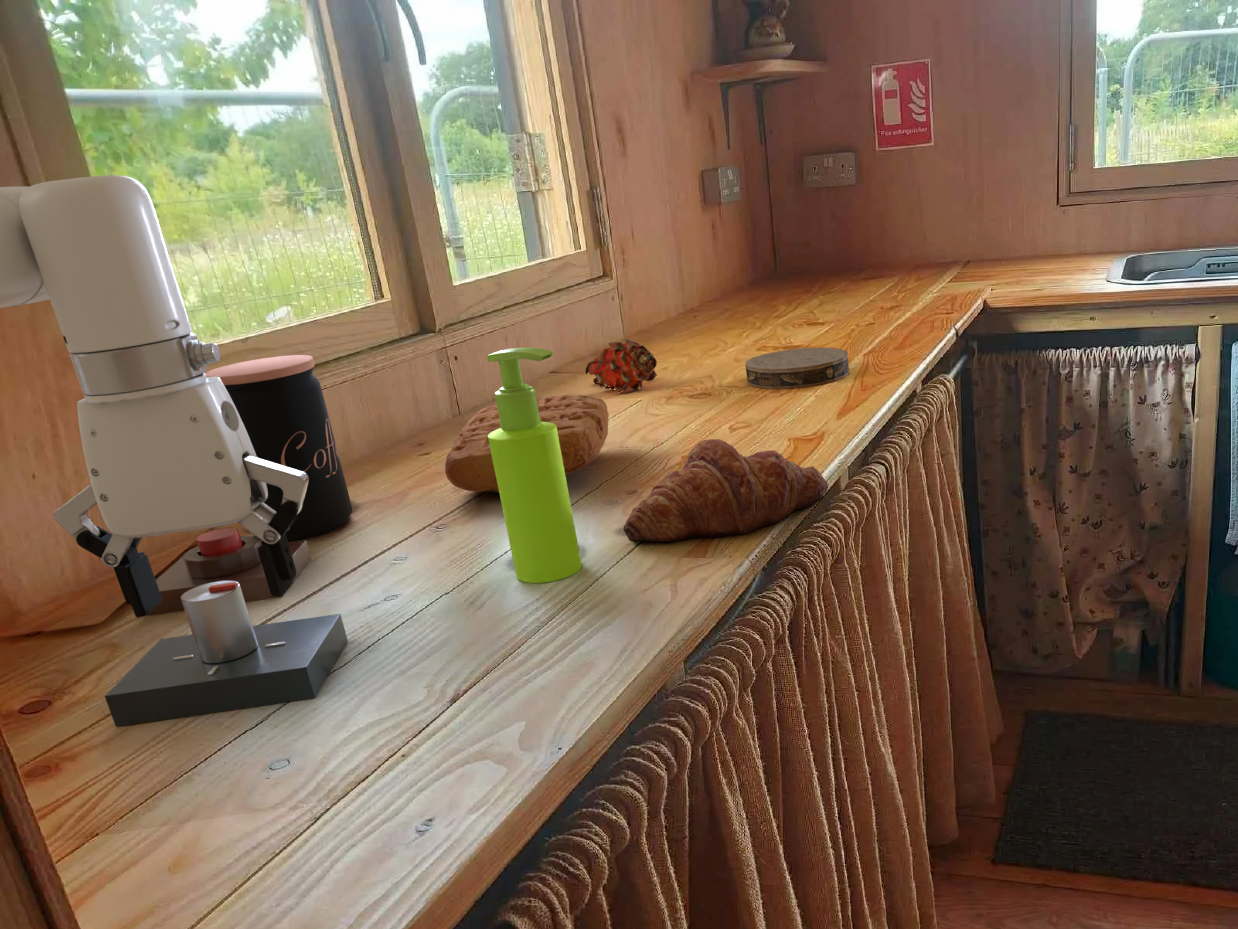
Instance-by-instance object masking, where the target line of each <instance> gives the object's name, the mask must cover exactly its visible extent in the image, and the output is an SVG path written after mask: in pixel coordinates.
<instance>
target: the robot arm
mask: <svg viewBox="0 0 1238 929" xmlns="http://www.w3.org/2000/svg"><path fill="white" fill-rule="evenodd" d="M161 229H162V228H161V226H160V223H159V219H158V215H157V212H156V210H155V207H154V204H153V201H152V198H151V196H150V194H149V192H148V190H147V189H146V187H145V186H144V185H143V184H142V183H141V182H140V181H139V180H137V179H135V178H133V177H130V176H127V175H119V174H118V175H117V174H107V175H95V176H84V177H73V178H65V179H57V180H49V181H43V182H39V183H36V184H32V185H30V186H21V185H20V186H17V185H16V186H0V309H4V308H9V307H11V308H12V307H19V306H24V305H28V304H35V303H39V302H45V301H50V304H51V307H52V310H53V312H54V315H55V318H56V321H57V323H58V327H59V329H60V332H61V334H62V338H63V340H64V344H65V347H66V349H67V352H68V353H69V358H70V360H71V364H72V366H73V370H74V373H75V374H76V377H77V380H78V383H79V386H80V389H81V391H82V394H83V397H84V398H82V399H79V400H78V401H77V402H76V407H77V419H78V428H79V436H80V441H81V446H82V452H83V456H84V462H85V466H86V470H87V473H88V477H89V482H90V484H89V485H87V486H86V487H85V488H84V489H82V490H81V491H80V492H79V493H77V494H76V495H74V496H73V497H72V498H71V499H69V500H68V501H66V502H65V503H64V504H63V505H61V506H60V507H59V508H57V509H56V510H54V512H53V514H52V516H53V520H55V521H56V522H57V524H59V526H61V527H62V528H63V529H64V530H65V531H66V533H68V534H69V535H70V536H71V537H73V538H74V539H75V541H76V544H77V545H78V546H79V547H80V548H81V549H84V550H85V551H87V552H89V553H91V554H93V555H95V556H96V557H98V558H100V559H101V561H102V564H103V565H104V566H106V567H108V568H113V571H114V573H115V575H116V578H117V581H118V584H119V587H120V589H121V593H122V596H123V599H124V600H125V602H126V604H128V605H130V606H131V608H132V611H133V614H134V616H135V617H136V618H144V617H147V614H149V613H150V612H151V611H152V610H153V609H154V608H155V607H156V606H157V605H158V604H159V603H161V601H162V597H161V594H160V591H159V588H158V585H157V582H156V579H157V578H156V577H155V574H154V572H153V569H152V568H153V567H152V565H151V563H150V559H149V557H148V555H147V554H145V552H144V551H140V552H139V551H138V546H139V545H140V543H141V541H142V540H143V538H149V537H156V536H163V535H171V534H177V533H184V532H191V531H197V530H203V529H210V528H217V527H223V526H229V525H234V524H238V525H239V526H241V527H243V528H244V529H245V530H247V531H248V532H250V533H251V534H252V535H254V537H256V538H257V539H259V538H260V539H261V540H260V542H261V545H260V546H259V547H258V554H259V557H260V560H261V564H262V567H263V570H264V573H265V577H266V580H267V583H268V586H269V590H270V593H271V595H272V596H273V595H274V596H275V597H278V596H283V595H284V596H285V594H286V593H287V592H288V591H289V590H290V588H291V587H292V586H293V584H294V583H293V579H294V578H295V577H296V568H295V564H294V561H293V557H292V554H291V551H290V547H289V544H288V543H289V542H288V541H287V537H286V534H285V533H286V532H287V531H288V530H289V528H290V526H291V525H292V523H293V522H294V520H295V519H296V517H297V516H298V514H299V513H300V511H301V510H302V508H303V500H304V498H305V494H306V490H307V486H308V482H309V477H308V475H307V474H306V473H304V472H302V471H299V470H295V469H292V468H289V467H285V466H282V465H279V464H276V463H272V462H269V461H266V460H262V459H259V458H257V456H256V453H255V451H254V448H253V446H252V443H251V441H250V438H249V436H248V433H247V431H246V429H245V427H244V424H243V422H242V420H241V418H240V416H239V413H238V411H237V409H236V407H235V405H234V403H233V401H232V399H231V397H230V395H229V393H228V391H227V390H226V388H225V386H224V384H223V383H222V381H221V379H220V378H219V377H209V378H206V375H205V373H207V372H208V368H207V367H209V366H210V365H211V364H215V363H220V362H221V358H222V355H221V350H220V348H219V345H218V344H217V343H215V342H210V343H205V342H204V341H201V342H200V340H199V338H198V335H197V333H193V329H192V327H191V324H190V320H189V317H188V313H187V310H186V307H185V304H184V303H185V302H184V300H183V297H182V293H181V291H180V290H181V289H180V287H179V284H178V281H177V277H176V274H175V270H174V268H173V265H172V264H173V263H172V261H171V259H170V258H171V257H170V255H169V251H168V248H167V245H166V242H165V239H164V236H163V232H162V230H161ZM266 483H268V484H271V485H274V486H278V487H280V488H281V489H282V491H283V500H282V504H281V506H280V508H279V509H278V511H277V512H276V511H274V510H273V509H272V508H270V507H269V506H268V505H266V504H265V503H264V502H265V501H266V499H267V497H268V490H267V486H266ZM96 505H97V508H98V510H99V513H100V515H101V518H102V520H103V522H104V524H105V526H106V527H107V530H108V531H107V530H106V529H104V528H102V527H100V526H98V525H95V524H94V523H93V521H92V520H91V519H90V517H89V515H88V513H89V511H90V510H91V509H92V508H93V507H94V506H96ZM291 585H292V586H291ZM290 586H291V587H290ZM287 590H288V591H287ZM286 591H287V592H286ZM284 596H283V597H284Z"/></svg>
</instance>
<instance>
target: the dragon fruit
mask: <svg viewBox="0 0 1238 929" xmlns="http://www.w3.org/2000/svg"><path fill="white" fill-rule="evenodd" d="M624 341H625V343H622V342H621V341H615V342H614V341H613V342H612V341H611V342H608V346H610V347H608V348H604V349H603V350H602V352H601V353H600V354H599V356H597V357H595V358H594V359H592V360H591V361H589V362H588V363H587V365H586V367H585V371H583V373H585V375H588V374H589V375H591V376H593V375H594V376H595V377H594V378H593V379H592V382H593V384H594V385H595V386H598V387H599V388H604V389H605V390H613V389H614V388H615V389H616V391H615V392H616V393H618V392H621V391H623V390H624V391H625V390H626V389H627V388H630V389H631V390H632V391H636V390H635V389H639V388H642V389H643V382H652V381H653V380H655V379H656V377H657V376H658V374H657V372H656V371H655V368H656V367H657V363H658V361H657V359H656V358H655V357H654V354H653V353H652V352H651V351H650V350H649V349H648V348H646V346H644V345H641V344H639V343H638V342H636V341H634V340H632V339H629V338H627V339H625V338H624ZM609 388H611V389H609ZM624 391H623V392H624ZM621 393H622V392H621Z"/></svg>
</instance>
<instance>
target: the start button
mask: <svg viewBox="0 0 1238 929" xmlns="http://www.w3.org/2000/svg"><path fill="white" fill-rule="evenodd" d="M240 536H241V535H240V530H239V529H238V528H235V527H224V528H218V529H213V530H210V531H208V532H204V533H202V534H200V535H199V536H197V537H196V542H197V546H199V549H200V552H201V555H202V556H214V555H221V554H224V553H228V552H232V551H234V550H237V549H239V548H241V547H243V544H242V541H241V538H240Z"/></svg>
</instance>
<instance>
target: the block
mask: <svg viewBox="0 0 1238 929" xmlns="http://www.w3.org/2000/svg"><path fill="white" fill-rule="evenodd" d="M240 538H241V541H242V544H243V547H241V548H239V549H237V550H234V551H232V552H228V553H224V554H221V555H214V556H202V555H201V552H200V549H199V546H198V545H197V546H195V547H193V548H190V549H188V551H187V552H185V553H184V554H183V555H182V556H181V557H180V558H179V559H178V560H177V561H176V562H174V563H173V564H172V565H171V566H170V567H169V568H167V570H166V571H164V572H163V573H161V575H160V576H158V578H155V579H156V582H157V585H158V588H159V591H160V594H161V597H162V601H161V603H159V604H158V605H157V606H156V607H155V608H154V609H153V610H152V611H151V612H150V613H149V614H147V615H146V617H148V616H156V615H163V614H170V613H177V612H178V613H179V612H185V610H184V607H183V604H182V601H181V596H182V595H183V594H184V593H185V592H187V591H189V590H191V589H193V588H195V587H198V586H201V585H204V584H208V583H212V582H217V581H236V582H238V583H239V584H240V587H241V591H242V594H243V597H244V600H245V603H250V602H258V601H265V600H272V599H278V598H283V597H284V596H285V594H284V595H283V596H278V597H275V596H274V595H273V596H272V595H271V593H270V590H269V586H268V583H267V580H266V577H265V573H264V570H263V567H262V564H261V560H260V557H259V554H258V547H259V546H260V545H261V544H262V542H261V540H259V538H258V537H257V536H253V535H252V536H250V535H240ZM288 544H289V547H290V551H291V554H292V557H293V561H294V564H295V568H296V577H295V578H294V579H293V584H294V583H295V582H296V581H297V580H298V578H299V577H300V576H301V575H302V573H303V572H304V571H305V569H306V568H307V567H308V566H309V565H310V563H311V562H312V556H311V552H310V549H309V545H308V541H307V539H305V540H301V541H294V542H288ZM293 584H292V585H291V586H290V588H291V587H292V586H293ZM288 591H289V589H288V590H287V591H286V593H287V592H288Z"/></svg>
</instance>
